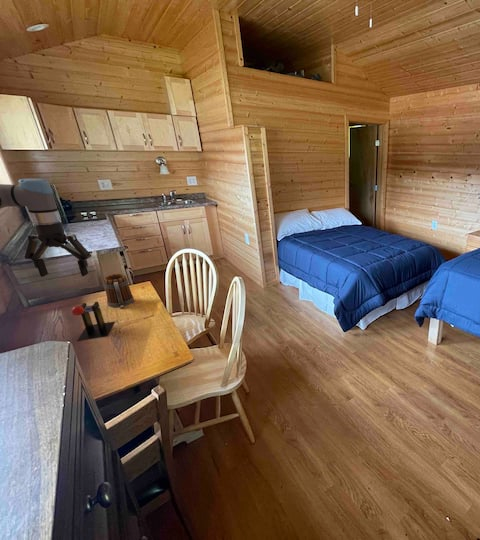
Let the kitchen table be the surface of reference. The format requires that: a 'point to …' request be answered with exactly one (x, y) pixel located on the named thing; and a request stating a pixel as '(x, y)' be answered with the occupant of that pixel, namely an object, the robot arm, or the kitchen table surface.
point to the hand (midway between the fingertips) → (65, 275)
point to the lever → (81, 309)
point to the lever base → (96, 329)
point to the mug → (118, 291)
